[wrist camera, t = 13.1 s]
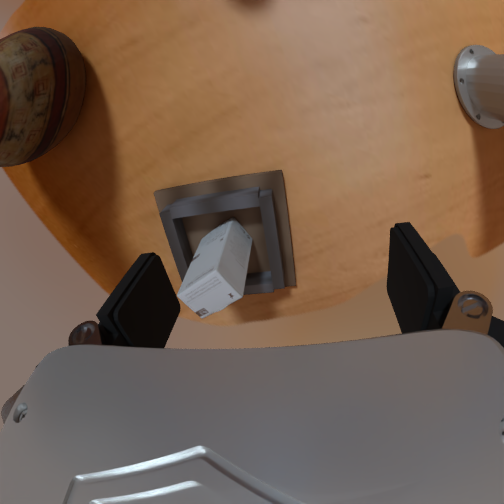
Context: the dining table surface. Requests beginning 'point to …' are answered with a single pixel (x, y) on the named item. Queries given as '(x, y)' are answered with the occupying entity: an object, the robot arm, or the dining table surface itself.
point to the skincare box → (217, 269)
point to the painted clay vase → (37, 92)
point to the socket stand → (245, 212)
